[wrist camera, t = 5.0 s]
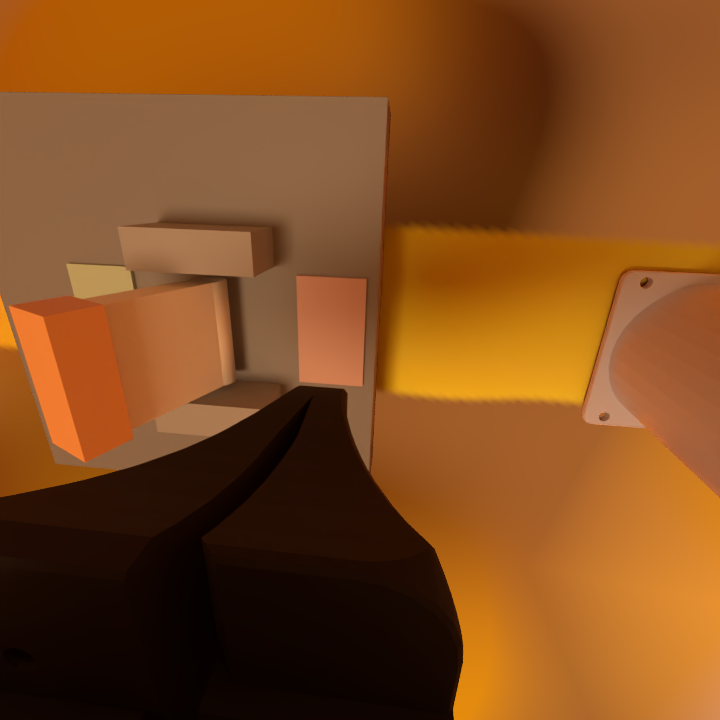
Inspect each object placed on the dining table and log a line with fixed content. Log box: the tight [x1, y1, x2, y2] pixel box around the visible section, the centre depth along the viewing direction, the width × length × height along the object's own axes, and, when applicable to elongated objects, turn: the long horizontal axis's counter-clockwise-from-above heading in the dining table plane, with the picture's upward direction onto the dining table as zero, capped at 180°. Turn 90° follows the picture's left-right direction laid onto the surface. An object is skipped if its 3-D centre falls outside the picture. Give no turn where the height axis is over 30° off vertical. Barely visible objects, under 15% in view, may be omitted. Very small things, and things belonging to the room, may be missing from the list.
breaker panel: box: [0, 92, 391, 473], centre depth 18 cm, size 18×18×6 cm
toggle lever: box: [9, 277, 236, 463], centre depth 15 cm, size 2×5×7 cm, turn 178°
